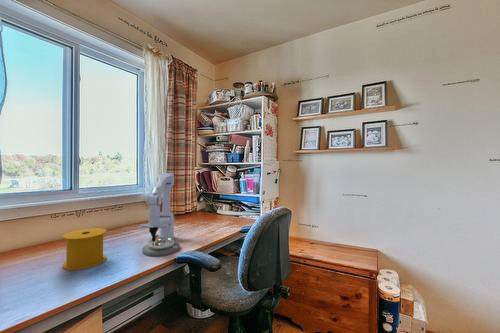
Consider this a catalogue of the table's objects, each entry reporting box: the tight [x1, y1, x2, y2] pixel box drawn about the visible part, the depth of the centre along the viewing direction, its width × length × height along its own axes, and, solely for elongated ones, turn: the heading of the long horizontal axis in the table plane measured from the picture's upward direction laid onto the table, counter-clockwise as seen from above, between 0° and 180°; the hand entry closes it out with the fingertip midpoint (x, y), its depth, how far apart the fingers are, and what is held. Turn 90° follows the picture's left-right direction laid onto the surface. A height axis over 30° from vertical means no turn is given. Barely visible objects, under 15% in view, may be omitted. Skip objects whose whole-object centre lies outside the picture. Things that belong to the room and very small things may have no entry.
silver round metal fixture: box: [147, 234, 175, 250], centre depth 134 cm, size 14×14×8 cm
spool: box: [61, 227, 108, 271], centre depth 116 cm, size 18×18×15 cm
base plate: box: [141, 241, 180, 258], centre depth 134 cm, size 20×20×2 cm
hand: (153, 240), depth 129 cm, fingers closed
